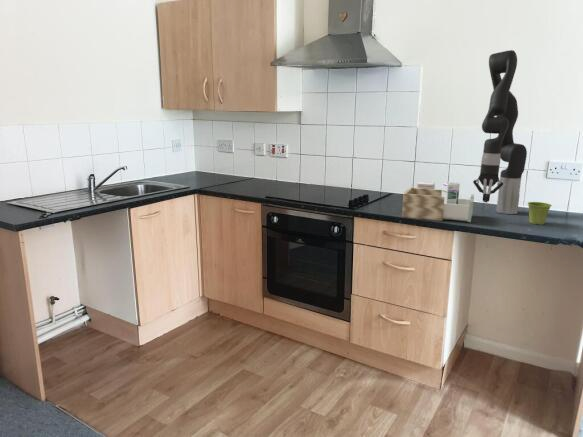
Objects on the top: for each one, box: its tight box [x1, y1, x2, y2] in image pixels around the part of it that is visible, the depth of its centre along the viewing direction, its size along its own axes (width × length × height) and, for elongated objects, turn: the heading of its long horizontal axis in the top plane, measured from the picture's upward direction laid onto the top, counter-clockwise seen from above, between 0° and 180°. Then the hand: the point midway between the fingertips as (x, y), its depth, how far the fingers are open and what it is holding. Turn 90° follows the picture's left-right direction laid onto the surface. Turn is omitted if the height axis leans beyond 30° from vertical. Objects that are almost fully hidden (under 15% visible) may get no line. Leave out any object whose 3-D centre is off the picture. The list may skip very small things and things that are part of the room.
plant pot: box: [527, 201, 552, 226], centre depth 210 cm, size 9×9×9 cm
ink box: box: [416, 181, 436, 190], centre depth 245 cm, size 8×5×12 cm, turn 69°
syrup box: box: [441, 181, 461, 204], centre depth 218 cm, size 6×6×14 cm
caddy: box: [401, 187, 445, 222], centre depth 223 cm, size 18×18×11 cm
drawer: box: [443, 193, 475, 223], centre depth 219 cm, size 18×18×9 cm
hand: (485, 202), depth 213 cm, fingers closed
